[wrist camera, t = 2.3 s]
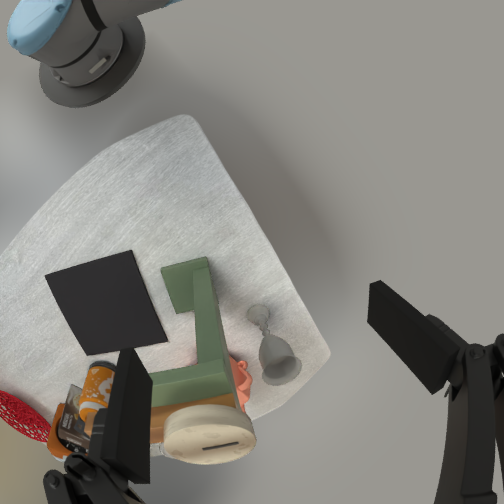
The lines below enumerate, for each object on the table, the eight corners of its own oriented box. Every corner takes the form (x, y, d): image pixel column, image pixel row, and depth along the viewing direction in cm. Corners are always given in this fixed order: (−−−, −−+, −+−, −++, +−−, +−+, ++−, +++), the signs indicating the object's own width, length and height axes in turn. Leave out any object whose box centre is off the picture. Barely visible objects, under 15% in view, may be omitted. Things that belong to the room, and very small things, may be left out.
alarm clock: (112, 415, 63) (104, 470, 44) (115, 429, 66) (109, 481, 47) (58, 401, 58) (43, 452, 39) (64, 416, 61) (52, 464, 42)
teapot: (186, 341, 58) (187, 382, 46) (256, 348, 62) (269, 386, 51) (179, 384, 62) (180, 423, 51) (241, 389, 67) (251, 425, 55)
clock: (74, 396, 22) (64, 434, 17) (236, 372, 25) (247, 416, 20) (112, 437, 26) (109, 471, 21) (252, 418, 28) (263, 455, 23)
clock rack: (161, 267, 51) (139, 387, 23) (206, 256, 52) (224, 371, 24) (176, 310, 55) (175, 435, 27) (218, 300, 56) (245, 422, 28)
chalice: (251, 296, 57) (274, 352, 40) (279, 304, 59) (309, 358, 43) (237, 323, 59) (255, 383, 42) (264, 330, 61) (288, 387, 45)
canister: (129, 377, 59) (120, 442, 41) (102, 389, 59) (90, 448, 41) (105, 355, 55) (87, 420, 37) (79, 368, 55) (60, 428, 37)
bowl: (29, 432, 62) (26, 441, 57) (-19, 382, 50) (-23, 391, 45) (73, 432, 64) (71, 443, 59) (18, 377, 52) (12, 387, 48)
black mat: (45, 275, 46) (44, 276, 45) (131, 249, 48) (131, 250, 48) (87, 354, 54) (86, 355, 54) (167, 339, 57) (167, 341, 56)
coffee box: (69, 395, 58) (56, 436, 43) (71, 383, 56) (57, 427, 42) (96, 407, 61) (88, 449, 46) (100, 396, 60) (91, 441, 45)
